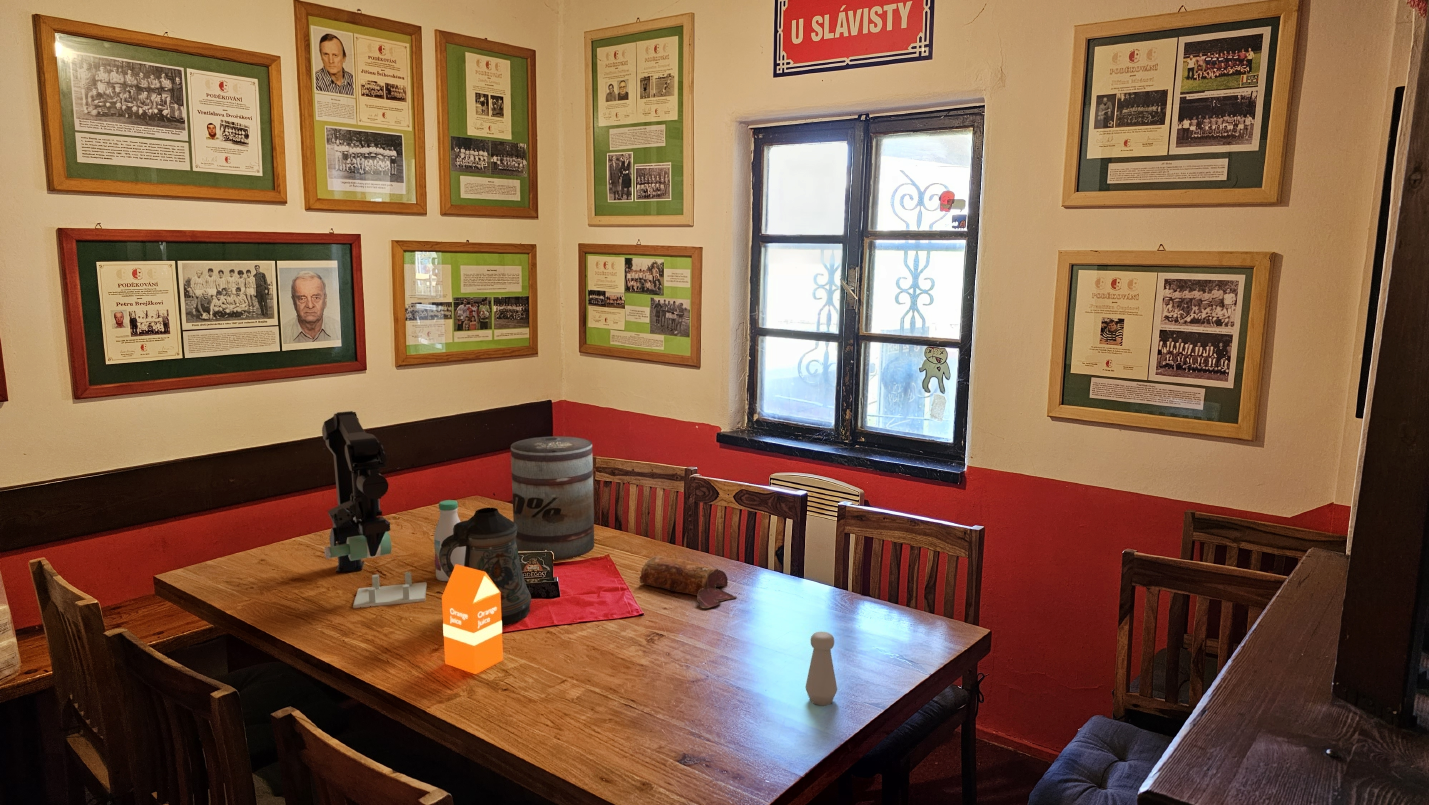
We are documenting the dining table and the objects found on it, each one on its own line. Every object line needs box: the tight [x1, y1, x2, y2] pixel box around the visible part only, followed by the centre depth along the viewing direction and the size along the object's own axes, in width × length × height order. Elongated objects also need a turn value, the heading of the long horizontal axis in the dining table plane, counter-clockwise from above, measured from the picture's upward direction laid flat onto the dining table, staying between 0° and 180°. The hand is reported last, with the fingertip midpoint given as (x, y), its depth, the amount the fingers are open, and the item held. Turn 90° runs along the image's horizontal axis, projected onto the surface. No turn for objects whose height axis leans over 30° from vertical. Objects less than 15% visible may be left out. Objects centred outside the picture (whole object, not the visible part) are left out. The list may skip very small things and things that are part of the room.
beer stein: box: [439, 507, 532, 627], centre depth 201 cm, size 16×19×25 cm
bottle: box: [324, 531, 392, 561], centre depth 211 cm, size 14×6×6 cm, turn 124°
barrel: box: [510, 436, 595, 561], centre depth 249 cm, size 22×22×30 cm
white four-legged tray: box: [352, 571, 427, 609], centre depth 215 cm, size 16×11×4 cm
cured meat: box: [639, 555, 738, 609], centre depth 219 cm, size 18×25×7 cm
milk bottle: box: [433, 499, 466, 582], centre depth 227 cm, size 8×8×20 cm
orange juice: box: [441, 564, 504, 675], centre depth 178 cm, size 8×9×20 cm
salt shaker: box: [805, 631, 838, 707], centre depth 163 cm, size 6×6×13 cm
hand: (369, 552), depth 212 cm, fingers closed on bottle, 6 cm apart
